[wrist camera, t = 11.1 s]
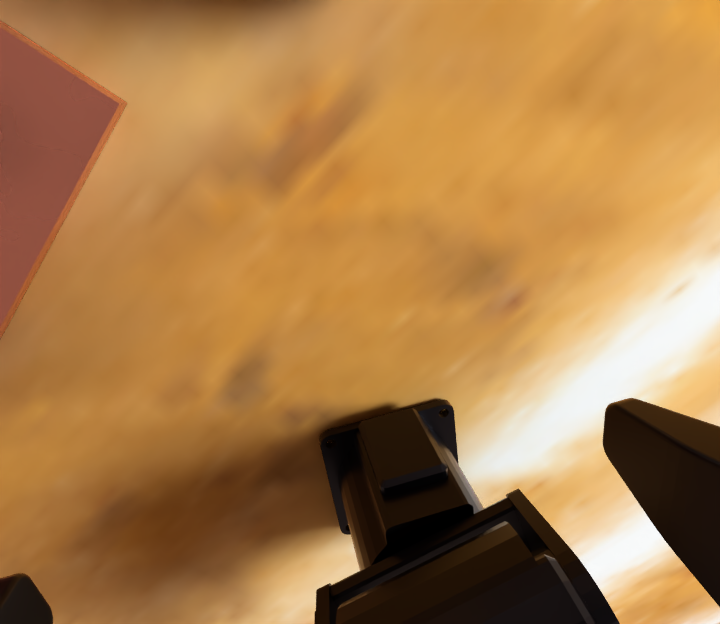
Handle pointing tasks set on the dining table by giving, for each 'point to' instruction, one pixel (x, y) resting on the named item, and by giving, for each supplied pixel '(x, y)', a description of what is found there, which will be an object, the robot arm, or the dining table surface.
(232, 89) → the dining table surface
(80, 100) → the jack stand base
